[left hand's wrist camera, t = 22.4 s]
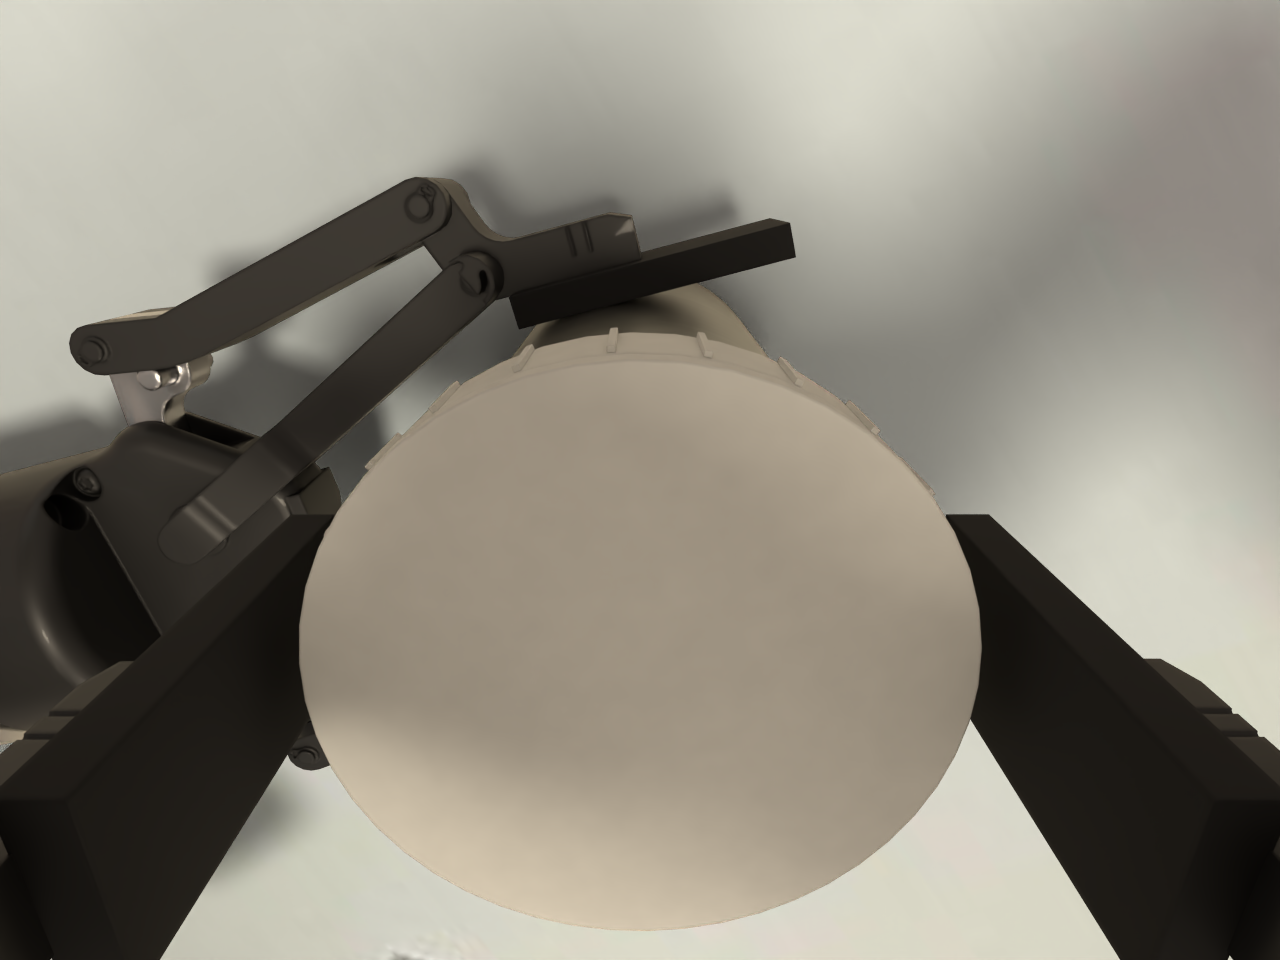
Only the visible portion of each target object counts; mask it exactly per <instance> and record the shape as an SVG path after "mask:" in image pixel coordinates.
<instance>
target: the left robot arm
mask: <svg viewBox="0 0 1280 960" xmlns="http://www.w3.org/2000/svg"><path fill="white" fill-rule="evenodd" d="M333 519H334V514H291V515H290V516H289V517H288V518H287V519H286V520H285V521H284V522H283V523H281V524H280V525H279V526H278V527H277V528H276V529H275V530H274V531H273V532H272V533H271V534H270V535H269V536H268V537H266V538H265V539H264V540H263V541H262V542H261V543H260V544H259V545H258V546H257V547H256V548H255V549H254V550H253V551H251V552H250V553H249V554H248V555H247V556H246V557H245V558H244V559H243V560H242V561H241V562H240V563H239V564H238V565H236V566H235V567H234V568H233V569H232V570H231V571H230V572H229V573H228V574H227V575H226V576H225V577H224V578H223V579H222V580H220V581H219V582H218V583H217V584H216V585H215V586H214V587H213V588H212V589H211V590H210V591H209V592H208V593H207V594H205V595H204V596H203V597H202V598H201V599H200V600H199V601H198V602H197V603H196V604H195V605H194V606H193V607H192V608H190V609H189V610H188V611H187V612H186V613H185V614H184V615H183V616H182V617H181V618H180V619H179V620H178V621H177V622H175V623H174V624H173V625H172V626H171V627H170V628H169V629H168V630H167V631H166V632H165V633H164V634H163V635H162V636H160V637H159V638H158V639H157V640H156V641H155V642H154V643H153V644H152V645H151V646H150V647H149V648H148V649H147V650H145V651H144V652H143V653H142V654H141V655H140V656H139V657H138V658H137V659H136V660H135V661H120V662H118V663H116V664H115V665H113V666H111V667H109V668H107V669H106V670H104V671H102V672H100V673H99V674H97V675H95V676H93V677H91V678H90V679H88V680H86V681H84V682H83V683H81V684H79V685H78V686H77V687H76V688H75V689H74V690H73V691H71V692H70V693H69V694H68V695H67V696H66V697H65V698H63V699H62V700H61V701H60V702H59V703H58V704H57V705H56V706H54V707H53V708H52V709H51V710H50V711H49V716H48V717H42V718H41V719H40V720H39V721H37V722H36V723H35V724H34V725H33V726H32V727H31V728H30V729H28V730H27V731H26V732H25V733H24V737H23V739H22V740H16V741H15V742H14V743H13V744H11V745H10V746H9V747H8V748H7V749H6V750H5V751H4V752H2V753H1V754H0V960H50V959H51V958H52V960H160V959H161V957H162V955H163V954H164V952H165V951H166V949H167V947H168V946H169V944H170V942H171V941H172V939H173V938H174V936H175V934H176V933H177V931H178V930H179V928H180V926H181V925H182V923H183V922H184V920H185V918H186V917H187V915H188V914H189V912H190V910H191V909H192V907H193V906H194V904H195V902H196V901H197V899H198V898H199V896H200V894H201V893H202V891H203V890H204V888H205V886H206V885H207V883H208V881H209V880H210V878H211V877H212V875H213V873H214V872H215V870H216V869H217V867H218V865H219V864H220V862H221V861H222V859H223V857H224V856H225V854H226V853H227V851H228V849H229V848H230V846H231V845H232V843H233V841H234V840H235V838H236V837H237V835H238V833H239V832H240V830H241V829H242V827H243V825H244V824H245V822H246V820H247V819H248V817H249V816H250V814H251V812H252V811H253V809H254V808H255V806H256V804H257V803H258V801H259V800H260V798H261V796H262V795H263V793H264V792H265V790H266V788H267V787H268V785H269V784H270V782H271V780H272V779H273V777H274V776H275V774H276V772H277V771H278V769H279V767H280V766H281V764H282V763H283V761H284V759H285V758H286V756H287V755H288V753H289V751H290V750H291V748H292V747H293V745H294V743H295V742H296V740H297V739H298V737H299V735H300V734H301V732H302V731H303V729H304V727H305V726H306V724H307V723H308V721H309V719H310V715H309V712H308V709H307V706H306V702H305V698H304V691H303V685H302V679H301V672H300V666H299V623H300V617H301V611H302V605H303V599H304V593H305V586H306V583H307V580H308V577H309V574H310V571H311V568H312V565H313V562H314V559H315V556H316V553H317V550H318V548H319V546H320V544H321V542H322V540H323V538H324V534H325V531H326V530H327V529H328V527H329V526H330V525H331V523H332V521H333ZM946 519H947V521H948V522H949V524H950V525H951V527H952V529H953V530H954V532H955V534H956V537H957V539H958V542H959V544H960V546H961V549H962V551H963V554H964V556H965V559H966V561H967V564H968V566H969V568H970V571H971V576H972V580H973V584H974V588H975V593H976V597H977V601H978V606H979V613H980V628H981V642H982V652H981V663H980V674H979V685H978V689H977V693H976V697H975V701H974V705H973V709H972V713H971V717H970V719H971V721H972V723H973V724H974V726H975V727H976V729H977V731H978V732H979V734H980V735H981V737H982V739H983V740H984V742H985V743H986V745H987V747H988V748H989V750H990V751H991V753H992V755H993V756H994V758H995V759H996V761H997V763H998V764H999V766H1000V768H1001V769H1002V771H1003V772H1004V774H1005V776H1006V777H1007V779H1008V780H1009V782H1010V784H1011V785H1012V787H1013V788H1014V790H1015V792H1016V793H1017V795H1018V796H1019V798H1020V800H1021V801H1022V803H1023V804H1024V806H1025V808H1026V809H1027V811H1028V812H1029V814H1030V816H1031V817H1032V819H1033V820H1034V822H1035V824H1036V825H1037V827H1038V829H1039V830H1040V832H1041V833H1042V835H1043V837H1044V838H1045V840H1046V841H1047V843H1048V845H1049V846H1050V848H1051V849H1052V851H1053V853H1054V854H1055V856H1056V857H1057V859H1058V861H1059V862H1060V864H1061V865H1062V867H1063V869H1064V870H1065V872H1066V873H1067V875H1068V877H1069V878H1070V880H1071V881H1072V883H1073V885H1074V886H1075V888H1076V890H1077V891H1078V893H1079V894H1080V896H1081V898H1082V899H1083V901H1084V902H1085V904H1086V906H1087V907H1088V909H1089V910H1090V912H1091V914H1092V915H1093V917H1094V918H1095V920H1096V922H1097V923H1098V925H1099V926H1100V928H1101V930H1102V931H1103V933H1104V934H1105V936H1106V938H1107V939H1108V941H1109V942H1110V944H1111V946H1112V947H1113V949H1114V951H1115V952H1116V954H1117V955H1118V957H1119V959H1120V960H1228V958H1229V955H1230V956H1231V958H1232V959H1233V960H1280V750H1278V749H1277V748H1276V747H1275V746H1274V745H1273V744H1272V743H1270V742H1269V741H1268V740H1267V739H1266V738H1265V737H1259V736H1258V734H1257V730H1256V729H1255V728H1253V727H1252V726H1251V725H1250V724H1249V723H1248V722H1247V721H1245V720H1244V719H1243V718H1242V717H1241V716H1240V715H1239V714H1233V713H1232V708H1231V707H1230V706H1228V705H1227V704H1226V703H1225V702H1224V701H1223V700H1222V699H1220V698H1219V697H1218V696H1217V695H1216V694H1215V693H1214V692H1212V691H1211V690H1210V689H1209V688H1208V687H1207V686H1206V685H1204V684H1203V683H1202V682H1201V681H1199V680H1197V679H1196V678H1194V677H1192V676H1190V675H1188V674H1187V673H1185V672H1183V671H1181V670H1180V669H1178V668H1176V667H1174V666H1172V665H1171V664H1169V663H1167V662H1165V661H1164V660H1162V659H1143V658H1142V657H1141V656H1140V655H1139V654H1138V653H1137V652H1136V651H1135V650H1133V649H1132V648H1131V647H1130V646H1129V645H1128V644H1127V643H1126V642H1125V641H1124V640H1123V639H1122V638H1121V637H1120V636H1118V635H1117V634H1116V633H1115V632H1114V631H1113V630H1112V629H1111V628H1110V627H1109V626H1108V625H1107V624H1106V623H1105V622H1103V621H1102V620H1101V619H1100V618H1099V617H1098V616H1097V615H1096V614H1095V613H1094V612H1093V611H1092V610H1091V609H1090V608H1088V607H1087V606H1086V605H1085V604H1084V603H1083V602H1082V601H1081V600H1080V599H1079V598H1078V597H1077V596H1076V595H1075V594H1073V593H1072V592H1071V591H1070V590H1069V589H1068V588H1067V587H1066V586H1065V585H1064V584H1063V583H1062V582H1061V581H1060V580H1058V579H1057V578H1056V577H1055V576H1054V575H1053V574H1052V573H1051V572H1050V571H1049V570H1048V569H1047V568H1046V567H1045V566H1043V565H1042V564H1041V563H1040V562H1039V561H1038V560H1037V559H1036V558H1035V557H1034V556H1033V555H1032V554H1031V553H1030V552H1029V551H1027V550H1026V549H1025V548H1024V547H1023V546H1022V545H1021V544H1020V543H1019V542H1018V541H1017V540H1016V539H1015V538H1014V537H1012V536H1011V535H1010V534H1009V533H1008V532H1007V531H1006V530H1005V529H1004V528H1003V527H1002V526H1001V525H1000V524H999V523H997V522H996V521H995V520H994V519H993V518H992V517H991V516H990V515H989V514H946Z"/></svg>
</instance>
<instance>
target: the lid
mask: <svg viewBox="0 0 1280 960" xmlns="http://www.w3.org/2000/svg"><path fill="white" fill-rule="evenodd" d="M428 409H429V410H428V411H427V412H426V413H425V414H424V415H423V416H422V417H421V418H420V419H419V420H418V421H417V422H416V423H415V424H414V425H413V426H412V427H411V428H410V429H409V430H408V431H407V432H406V433H405V434H404V435H403V436H402V435H401V434H399V433H397V434H396V435H395V436H394V437H393V438H392V439H391V440H390V441H389V442H388V443H387V444H386V445H385V446H384V447H383V448H382V449H381V450H380V451H379V452H378V453H377V454H376V455H375V456H374V457H373V458H372V459H371V460H370V461H369V462H368V463H367V465H366V466H365V468H366V469H367V470H369V471H368V472H367V473H366V474H365V475H364V476H363V478H362V479H361V480H360V482H359V483H358V484H357V486H356V487H355V488H354V490H353V491H352V492H351V494H350V495H349V496H348V498H347V499H346V501H345V502H344V503H343V505H342V506H341V507H340V509H339V510H338V511H337V513H336V515H335V517H334V519H333V521H332V523H331V525H330V526H329V527H328V529H327V530H326V531H325V534H324V538H323V540H322V542H321V544H320V546H319V548H318V550H317V553H316V556H315V559H314V562H313V565H312V568H311V571H310V574H309V577H308V580H307V583H306V586H305V593H304V599H303V605H302V611H301V617H300V623H299V666H300V672H301V679H302V685H303V691H304V698H305V702H306V706H307V709H308V712H309V715H310V718H311V721H312V725H313V728H314V731H315V734H316V737H317V739H318V741H319V743H320V745H321V747H322V749H323V751H324V753H325V755H326V757H327V759H328V761H329V764H330V766H331V768H332V770H333V771H334V773H335V774H336V776H337V777H338V779H339V780H340V782H341V783H342V785H343V786H344V788H345V789H346V791H347V792H348V794H349V795H350V797H351V798H352V799H353V801H354V802H355V803H356V804H357V805H358V806H359V808H360V809H361V810H362V811H363V812H364V813H365V814H366V816H367V817H368V818H369V819H370V820H371V821H372V822H373V824H374V825H375V826H376V827H377V828H378V829H379V830H380V831H381V832H383V833H384V834H385V835H386V836H387V837H388V838H389V839H390V840H391V841H393V842H394V843H395V844H396V845H397V846H398V847H399V848H400V849H401V850H403V851H404V852H405V853H406V854H408V855H409V856H411V857H412V858H413V859H415V860H416V861H418V862H419V863H420V864H422V865H423V866H425V867H426V868H427V869H429V870H430V871H432V872H433V873H435V874H436V875H438V876H440V877H442V878H444V879H445V880H447V881H449V882H451V883H452V884H454V885H456V886H458V887H460V888H461V889H463V890H465V891H467V892H469V893H471V894H474V895H476V896H478V897H481V898H483V899H485V900H488V901H490V902H492V903H495V904H497V905H499V906H502V907H505V908H508V909H511V910H514V911H518V912H521V913H524V914H527V915H530V916H533V917H536V918H541V919H546V920H550V921H555V922H559V923H564V924H569V925H573V926H582V927H590V928H598V929H607V930H632V931H655V930H670V929H685V928H692V927H698V926H704V925H711V924H717V923H723V922H727V921H731V920H735V919H738V918H742V917H746V916H750V915H754V914H758V913H761V912H764V911H766V910H769V909H772V908H775V907H777V906H780V905H783V904H786V903H788V902H791V901H794V900H796V899H798V898H800V897H802V896H804V895H806V894H808V893H810V892H812V891H815V890H817V889H819V888H821V887H823V886H825V885H827V884H829V883H830V882H832V881H834V880H835V879H837V878H838V877H840V876H842V875H843V874H845V873H846V872H848V871H850V870H851V869H853V868H855V867H856V866H858V865H859V864H861V863H862V862H863V861H864V860H866V859H867V858H868V857H870V856H871V855H872V854H873V853H875V852H876V851H877V850H878V849H880V848H881V847H882V846H883V845H885V844H886V843H887V842H889V841H890V840H891V839H892V838H893V837H894V836H895V835H896V834H897V833H898V832H899V831H900V830H901V829H902V828H903V827H904V826H905V825H906V824H907V823H908V822H909V821H910V820H911V819H912V818H913V817H914V816H915V814H916V813H917V812H918V811H919V809H920V808H921V807H922V805H923V804H924V803H925V802H926V800H927V799H928V798H929V796H930V795H931V794H932V793H933V791H934V790H935V789H936V787H937V786H938V784H939V783H940V781H941V779H942V777H943V776H944V774H945V772H946V771H947V769H948V767H949V766H950V764H951V762H952V760H953V759H954V757H955V755H956V753H957V751H958V748H959V746H960V743H961V741H962V738H963V736H964V734H965V731H966V729H967V726H968V724H969V721H970V717H971V713H972V709H973V705H974V701H975V697H976V693H977V689H978V685H979V674H980V663H981V652H982V642H981V628H980V613H979V606H978V601H977V597H976V593H975V588H974V584H973V580H972V576H971V571H970V568H969V566H968V564H967V561H966V559H965V556H964V554H963V551H962V549H961V546H960V544H959V542H958V539H957V537H956V534H955V532H954V530H953V529H952V527H951V525H950V524H949V522H948V521H947V519H946V517H945V516H944V514H943V512H942V511H941V509H940V507H939V506H938V504H937V503H936V501H935V499H934V498H933V495H935V493H934V491H933V490H932V488H931V487H930V486H929V485H928V484H927V483H926V482H925V481H924V480H923V479H922V478H921V477H920V476H919V475H918V474H917V473H916V472H915V471H914V470H913V469H912V468H911V467H910V466H909V465H908V464H907V463H906V462H905V461H904V460H903V459H902V458H901V457H898V456H897V455H896V454H895V453H894V451H893V450H892V449H891V448H890V447H889V446H888V445H887V444H886V443H885V442H884V441H883V440H882V439H881V438H880V437H879V436H878V435H877V434H878V433H879V432H880V429H879V428H878V427H877V426H876V425H875V424H874V423H873V422H872V421H871V420H870V419H869V418H868V417H867V416H866V415H865V414H864V413H863V412H862V411H861V410H860V409H859V408H858V407H857V406H856V405H855V404H854V403H852V402H851V401H850V400H849V401H848V402H847V403H846V404H844V403H843V402H842V401H841V400H839V399H838V398H837V397H836V396H835V395H833V394H832V393H830V392H829V391H827V390H826V389H824V388H822V387H821V386H819V385H818V384H816V383H815V382H813V381H812V380H810V379H809V378H807V377H806V376H804V375H802V374H801V373H799V372H797V371H795V369H794V368H793V367H792V366H791V365H790V364H789V362H788V361H787V360H786V359H784V358H782V357H779V359H778V361H777V362H776V361H774V360H771V359H769V358H767V357H765V356H763V355H761V354H757V353H754V352H751V351H748V350H745V349H741V348H738V347H735V346H732V345H729V344H725V343H722V342H719V341H713V340H708V339H707V337H706V334H705V333H703V332H698V333H697V338H695V337H690V336H684V335H678V334H660V333H633V332H630V333H619V334H618V328H610V332H609V334H608V335H598V336H587V337H582V338H578V339H573V340H569V341H565V342H560V343H556V344H552V345H547V346H543V347H540V348H538V349H534V347H533V344H531V345H528V346H526V347H525V348H524V350H523V351H522V352H521V354H520V355H519V356H516V357H514V358H511V359H508V360H506V361H503V362H501V363H499V364H497V365H495V366H494V367H492V368H490V369H488V370H486V371H484V372H483V373H481V374H479V375H477V376H475V377H473V378H471V379H470V380H468V381H466V382H464V383H463V384H462V385H460V384H459V382H458V381H455V382H454V383H453V384H451V385H450V386H449V387H448V388H447V389H446V391H445V392H444V393H443V394H442V395H441V396H440V397H439V398H438V399H437V400H436V401H435V402H434V403H433V404H432V405H431V406H430V407H429V408H428Z"/></svg>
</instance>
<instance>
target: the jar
mask: <svg viewBox="0 0 1280 960" xmlns="http://www.w3.org/2000/svg"><path fill="white" fill-rule="evenodd" d="M610 328H618V334H619V333H630V332H633V333H660V334H678V335H684V336H690V337H695V338H697V333H698V332H703V333H705V334H706V337H707V339H708V340H713V341H719V342H722V343H725V344H729V345H732V346H735V347H738V348H741V349H745V350H748V351H751V352H754V353H757V354H761V355H763V356H765V357H767V358H769V357H768V356H767V355H766V354H765V352H764V351H763V350H762V348H761V347H760V346H759V344H758V343H757V342H756V340H755V339H754V338H753V336H752V335H751V334H750V332H749V331H748V330H747V329H746V327H745V326H744V325H743V323H742V322H741V321H740V319H739V318H738V317H737V315H736V314H735V313H734V312H733V311H732V310H731V309H730V308H729V307H728V306H727V304H726V303H725V302H724V301H722V300H721V299H720V298H719V297H717V296H716V295H715V294H714V293H712V292H711V291H710V290H708V289H706V288H705V287H703V286H701V285H700V284H698V283H695V284H691V285H687V286H683V287H680V288H676V289H672V290H668V291H664V292H660V293H657V294H653V295H649V296H645V297H641V298H637V299H634V300H630V301H626V302H622V303H618V304H614V305H611V306H607V307H603V308H599V309H595V310H591V311H588V312H584V313H580V314H576V315H572V316H568V317H565V318H561V319H557V320H553V321H549V322H545V323H541V324H538V325H536V326H535V327H534V329H533V330H532V331H531V333H530V334H529V335H528V337H527V338H526V339H525V341H524V342H523V343H522V345H521V346H520V347H519V349H518V350H517V351H516V352H515V354H514V355H513V356H512V358H514V357H516V356H519V355H520V354H521V352H522V351H523V350H524V348H525V347H526V346H528V345H531V344H533V347H534V349H538V348H540V347H543V346H547V345H552V344H556V343H560V342H565V341H569V340H573V339H578V338H582V337H587V336H598V335H608V334H609V332H610Z"/></svg>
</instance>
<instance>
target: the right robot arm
mask: <svg viewBox="0 0 1280 960" xmlns="http://www.w3.org/2000/svg"><path fill="white" fill-rule="evenodd" d="M422 246H425V247H426V249H427V250H428V251H429V253H430V254H431V255H432V257H433V258H434V259H435V261H436V262H437V263H438V265H439V266H440V267H441V269H442V270H443V271H442V272H441V273H440V274H439V275H438V276H437V277H436V278H434V279H433V280H432V281H431V282H430V283H429V284H428V285H427V286H426V287H425V288H424V289H423V290H422V291H420V292H419V293H418V294H417V295H416V296H415V297H414V298H413V299H412V300H411V301H410V302H409V303H408V304H406V305H405V306H404V307H403V308H402V309H401V310H400V311H399V312H398V313H397V314H396V315H395V316H394V317H392V318H391V319H390V320H389V321H388V322H387V323H386V324H385V325H384V326H383V327H382V328H381V329H380V330H378V331H377V332H376V333H375V334H374V335H373V336H372V337H371V338H370V339H369V340H368V341H367V342H365V343H364V344H363V345H362V346H361V347H360V348H359V349H358V350H357V351H356V352H355V353H354V354H353V355H351V356H350V357H349V358H348V359H347V360H346V361H345V362H344V363H343V364H342V365H341V366H340V367H339V368H337V369H336V370H335V371H334V372H333V373H332V374H331V375H330V376H329V377H328V378H327V379H326V380H325V381H323V382H322V383H321V384H320V385H319V386H318V387H317V388H316V389H315V390H314V391H313V392H312V393H311V394H309V395H308V396H307V397H306V398H305V399H304V400H303V401H302V402H301V403H300V404H299V405H298V406H296V407H295V408H294V409H293V410H292V411H291V412H290V413H289V414H288V415H287V416H286V417H285V418H284V419H282V420H281V421H280V422H279V423H278V424H277V425H276V426H274V427H273V428H272V429H271V430H269V431H268V432H267V433H266V434H264V435H263V436H262V437H259V436H256V435H253V434H250V433H247V432H244V431H242V430H239V429H236V428H233V427H230V426H227V425H224V424H222V423H219V422H216V421H213V420H210V419H207V418H204V417H202V416H199V415H196V414H193V413H190V412H186V411H185V409H184V398H185V396H186V394H187V392H188V391H189V390H190V389H192V388H194V387H197V386H199V385H201V384H203V383H204V382H205V381H206V380H207V379H208V377H209V375H210V370H211V366H212V364H213V357H212V355H211V353H214V352H216V351H219V350H221V349H224V348H227V347H229V346H232V345H234V344H237V343H240V342H242V341H244V340H246V339H249V338H251V337H253V336H255V335H257V334H259V333H261V332H263V331H264V330H266V329H268V328H270V327H272V326H274V325H276V324H278V323H279V322H281V321H283V320H285V319H287V318H289V317H291V316H293V315H294V314H296V313H298V312H300V311H302V310H304V309H306V308H308V307H309V306H311V305H313V304H315V303H317V302H319V301H321V300H323V299H325V298H326V297H328V296H330V295H332V294H334V293H336V292H338V291H340V290H341V289H343V288H345V287H347V286H349V285H351V284H353V283H355V282H356V281H358V280H360V279H362V278H364V277H366V276H368V275H370V274H371V273H373V272H375V271H377V270H379V269H381V268H383V267H385V266H386V265H388V264H390V263H392V262H394V261H396V260H398V259H400V258H401V257H403V256H405V255H407V254H409V253H411V252H413V251H415V250H417V249H418V248H420V247H422ZM795 257H796V255H795V249H794V243H793V238H792V232H791V226H790V223H788V222H784V221H780V220H775V219H771V218H769V219H766V220H762V221H758V222H754V223H750V224H747V225H743V226H739V227H735V228H732V229H728V230H724V231H720V232H717V233H713V234H709V235H705V236H702V237H698V238H694V239H690V240H687V241H683V242H679V243H675V244H672V245H668V246H664V247H660V248H657V249H653V250H649V251H645V252H642V253H641V251H640V247H639V242H638V238H637V234H636V230H635V226H634V222H633V218H632V215H626V214H619V213H612V212H609V213H606V214H602V215H598V216H595V217H591V218H587V219H584V220H580V221H576V222H573V223H569V224H565V225H561V226H558V227H554V228H550V229H547V230H543V231H539V232H536V233H532V234H528V235H525V236H521V237H515V238H509V237H503V236H501V235H498V234H496V233H495V232H493V231H492V230H490V229H489V228H488V226H487V225H486V224H485V223H484V222H483V220H482V219H481V218H480V216H479V215H478V213H477V212H476V211H475V209H474V208H473V206H472V205H471V204H470V200H469V197H468V194H467V192H466V191H465V190H464V188H463V187H462V186H461V185H460V184H458V183H457V182H455V181H453V180H450V179H443V178H427V177H426V178H425V177H414V178H410V179H407V180H404V181H403V182H401V183H399V184H397V185H395V186H393V187H392V188H390V189H388V190H386V191H384V192H383V193H381V194H379V195H377V196H375V197H374V198H372V199H370V200H368V201H366V202H364V203H363V204H361V205H359V206H357V207H355V208H354V209H352V210H350V211H348V212H346V213H345V214H343V215H341V216H339V217H337V218H335V219H334V220H332V221H330V222H328V223H326V224H325V225H323V226H321V227H319V228H317V229H316V230H314V231H312V232H310V233H308V234H306V235H305V236H303V237H301V238H299V239H297V240H296V241H294V242H292V243H290V244H288V245H287V246H285V247H283V248H281V249H279V250H277V251H276V252H274V253H272V254H270V255H268V256H267V257H265V258H263V259H261V260H259V261H258V262H256V263H254V264H252V265H250V266H248V267H247V268H245V269H243V270H241V271H239V272H238V273H236V274H234V275H232V276H230V277H229V278H227V279H225V280H223V281H221V282H219V283H218V284H216V285H214V286H212V287H210V288H209V289H207V290H205V291H203V292H201V293H200V294H198V295H196V296H194V297H192V298H190V299H189V300H187V301H185V302H183V303H181V304H180V305H178V306H176V307H169V308H159V309H150V310H145V311H141V312H137V313H133V314H129V315H125V316H121V317H117V318H113V319H109V320H105V321H101V322H97V323H93V324H89V325H85V326H82V327H79V328H77V329H76V330H75V331H74V332H73V333H72V334H71V338H70V342H69V345H70V351H71V354H72V356H73V357H74V359H75V361H76V362H77V363H78V364H79V365H80V366H81V367H82V368H83V369H84V370H86V371H88V372H91V373H93V374H96V375H110V378H111V381H112V383H113V386H114V389H115V392H116V394H117V397H118V400H119V402H120V405H121V408H122V410H123V413H124V416H125V418H126V421H127V424H128V427H127V428H125V429H124V430H123V431H121V432H120V433H119V434H118V435H117V436H116V438H115V439H114V440H113V442H112V443H111V444H110V445H109V446H108V447H104V448H100V449H96V450H93V451H89V452H85V453H81V454H77V455H73V456H69V457H66V458H62V459H58V460H54V461H50V462H46V463H42V464H39V465H35V466H31V467H27V468H23V469H19V470H15V471H12V472H8V473H4V474H0V745H3V744H8V743H12V742H15V741H16V740H22V739H23V737H24V733H25V732H26V731H27V730H28V729H30V728H31V727H32V726H33V725H34V724H35V723H36V722H37V721H39V720H40V719H41V718H42V717H48V716H49V711H50V710H51V709H52V708H53V707H54V706H56V705H57V704H58V703H59V702H60V701H61V700H62V699H63V698H65V697H66V696H67V695H68V694H69V693H70V692H71V691H73V690H74V689H75V688H76V687H77V686H78V685H79V684H81V683H83V682H84V681H86V680H88V679H90V678H91V677H93V676H95V675H97V674H99V673H100V672H102V671H104V670H106V669H107V668H109V667H111V666H113V665H115V664H116V663H118V662H120V661H135V660H136V659H137V658H138V657H139V656H140V655H141V654H142V653H143V652H144V651H145V650H147V649H148V648H149V647H150V646H151V645H152V644H153V643H154V642H155V641H156V640H157V639H158V638H159V637H160V636H162V635H163V634H164V633H165V632H166V631H167V630H168V629H169V628H170V627H171V626H172V625H173V624H174V623H175V622H177V621H178V620H179V619H180V618H181V617H182V616H183V615H184V614H185V613H186V612H187V611H188V610H189V609H190V608H192V607H193V606H194V605H195V604H196V603H197V602H198V601H199V600H200V599H201V598H202V597H203V596H204V595H205V594H207V593H208V592H209V591H210V590H211V589H212V588H213V587H214V586H215V585H216V584H217V583H218V582H219V581H220V580H222V579H223V578H224V577H225V576H226V575H227V574H228V573H229V572H230V571H231V570H232V569H233V568H234V567H235V566H236V565H238V564H239V563H240V562H241V561H242V560H243V559H244V558H245V557H246V556H247V555H248V554H249V553H250V552H251V551H253V550H254V549H255V548H256V547H257V546H258V545H259V544H260V543H261V542H262V541H263V540H264V539H265V538H266V537H268V536H269V535H270V534H271V533H272V532H273V531H274V530H275V529H276V528H277V527H278V526H279V525H280V524H281V523H283V522H284V521H285V520H286V519H287V518H288V517H289V516H290V515H291V514H334V517H335V515H336V513H337V511H338V510H339V509H340V507H341V506H342V505H341V498H340V491H339V489H338V486H337V484H336V482H335V480H334V477H333V475H332V473H331V470H330V468H329V467H327V468H323V469H320V468H319V466H318V465H317V464H316V463H315V461H316V460H318V459H319V458H320V457H321V456H322V455H323V454H324V453H325V452H327V451H328V450H329V449H330V448H331V447H332V446H333V445H334V444H335V443H337V442H338V441H339V440H340V439H341V438H342V437H343V436H344V435H346V434H347V433H348V432H349V431H350V430H351V429H352V428H353V427H354V426H355V425H356V424H357V423H359V422H360V421H361V420H362V419H363V418H364V417H365V416H366V415H368V414H369V413H370V412H371V411H372V410H373V409H374V408H375V407H376V406H378V405H379V404H380V403H381V402H382V401H383V400H384V399H385V398H387V397H388V396H389V395H390V394H391V393H392V392H393V391H394V390H396V389H397V388H398V387H399V386H400V385H401V384H402V383H403V382H404V381H406V380H407V379H408V378H409V377H410V376H411V375H412V374H413V373H415V372H416V371H417V370H418V369H419V368H420V367H421V366H422V365H423V364H425V363H426V362H427V361H428V360H429V359H430V358H431V357H432V356H434V355H435V354H436V353H437V352H438V351H439V350H440V349H441V348H443V347H444V346H445V345H446V344H447V343H448V342H449V341H450V340H451V339H453V338H454V337H455V336H456V335H457V334H458V333H459V332H460V331H462V330H463V329H464V328H465V327H466V326H467V325H468V324H469V323H470V322H472V321H473V320H474V319H475V318H476V317H477V316H478V315H479V314H481V313H482V312H483V311H484V310H485V309H486V308H487V307H488V306H490V305H491V304H492V303H493V302H494V301H495V300H498V299H502V298H506V297H509V299H510V302H511V305H512V309H513V312H514V315H515V318H516V321H517V325H518V328H519V329H522V328H526V327H530V326H534V325H538V324H541V323H545V322H549V321H553V320H557V319H561V318H565V317H568V316H572V315H576V314H580V313H584V312H588V311H591V310H595V309H599V308H603V307H607V306H611V305H614V304H618V303H622V302H626V301H630V300H634V299H637V298H641V297H645V296H649V295H653V294H657V293H660V292H664V291H668V290H672V289H676V288H680V287H683V286H687V285H691V284H695V283H699V282H703V281H706V280H710V279H714V278H718V277H722V276H726V275H730V274H733V273H737V272H741V271H745V270H749V269H753V268H756V267H760V266H764V265H768V264H772V263H776V262H779V261H783V260H787V259H791V258H795ZM288 756H289V759H290V761H291V762H292V763H294V764H295V765H296V766H297V767H299V768H302V769H304V770H317V769H321V768H324V767H327V766H329V765H330V764H329V761H328V759H327V757H326V755H325V753H324V751H323V749H322V747H321V745H320V743H319V741H318V739H317V737H316V734H315V731H314V728H313V725H312V721H311V718H310V719H309V721H308V723H307V724H306V726H305V727H304V729H303V731H302V732H301V734H300V735H299V737H298V739H297V740H296V742H295V743H294V745H293V747H292V748H291V750H290V751H289V753H288Z"/></svg>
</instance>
